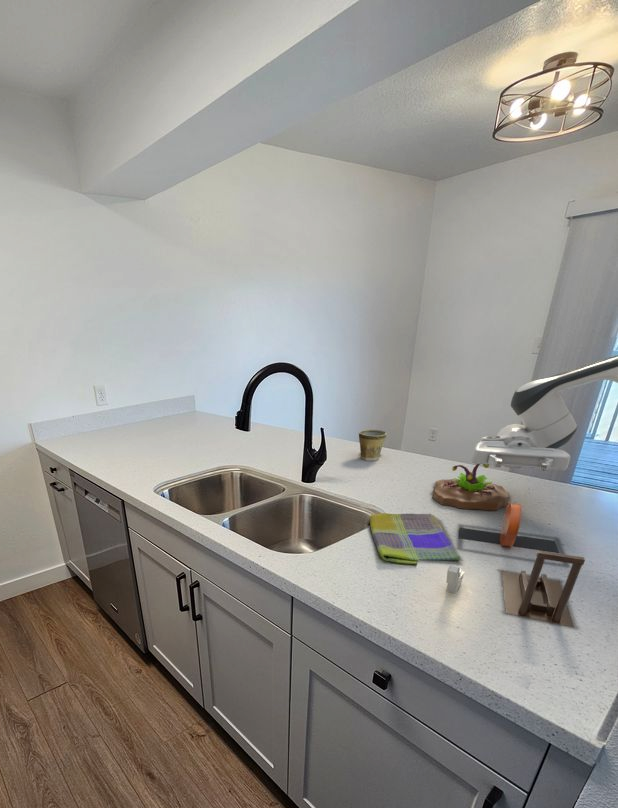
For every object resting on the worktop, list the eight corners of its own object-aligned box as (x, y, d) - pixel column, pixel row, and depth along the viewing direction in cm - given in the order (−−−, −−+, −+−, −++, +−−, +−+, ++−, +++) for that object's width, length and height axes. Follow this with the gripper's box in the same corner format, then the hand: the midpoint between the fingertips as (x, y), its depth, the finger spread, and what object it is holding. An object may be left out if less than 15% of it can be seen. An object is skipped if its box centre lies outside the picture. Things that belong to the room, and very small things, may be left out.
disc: (507, 538, 106) (518, 499, 102) (512, 553, 98) (523, 511, 94) (498, 537, 107) (508, 498, 103) (501, 551, 98) (512, 509, 95)
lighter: (450, 586, 89) (458, 552, 86) (459, 589, 88) (468, 555, 85) (440, 602, 85) (448, 567, 81) (449, 606, 84) (458, 570, 80)
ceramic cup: (383, 462, 163) (386, 436, 158) (355, 461, 166) (357, 435, 162) (384, 453, 173) (387, 428, 169) (357, 452, 177) (360, 427, 172)
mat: (554, 542, 103) (555, 540, 103) (564, 571, 92) (565, 568, 92) (459, 529, 112) (459, 527, 111) (458, 554, 101) (458, 551, 100)
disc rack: (557, 586, 87) (580, 523, 81) (572, 633, 75) (600, 563, 69) (499, 575, 92) (517, 516, 85) (504, 618, 79) (525, 552, 73)
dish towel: (376, 563, 99) (378, 552, 98) (368, 519, 120) (369, 510, 119) (461, 568, 95) (463, 557, 94) (436, 522, 116) (438, 512, 115)
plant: (509, 515, 117) (520, 475, 112) (429, 505, 126) (436, 468, 121) (506, 490, 133) (515, 454, 128) (435, 483, 142) (442, 449, 136)
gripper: (560, 465, 111) (570, 483, 101) (470, 459, 120) (470, 474, 109) (568, 441, 108) (579, 456, 98) (475, 436, 117) (475, 449, 107)
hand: (521, 465), depth 104 cm, fingers open, 8 cm apart
